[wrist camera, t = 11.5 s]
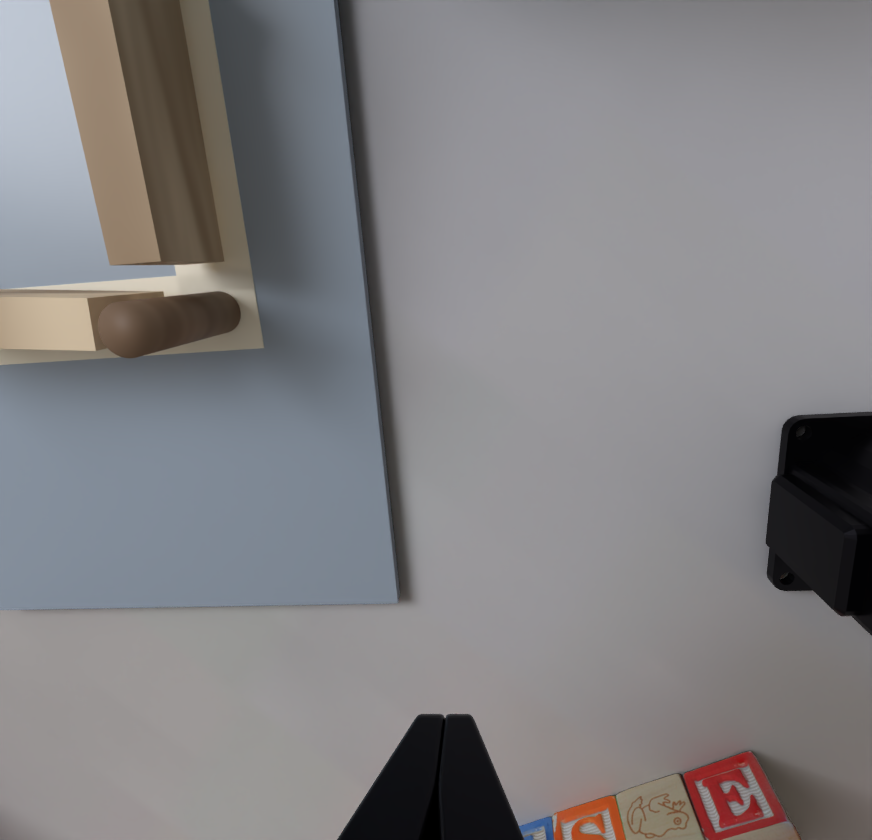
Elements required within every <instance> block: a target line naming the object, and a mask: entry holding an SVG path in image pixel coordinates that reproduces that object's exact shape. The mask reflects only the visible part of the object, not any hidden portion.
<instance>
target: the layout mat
mask: <svg viewBox="0 0 872 840" xmlns="http://www.w3.org/2000/svg"><path fill="white" fill-rule="evenodd" d="M179 1H180V7H181V13H182V19H183V24H184V30H185V36H186V42H187V48H188V53H189V59H190V65H191V71H192V76H193V82H194V88H195V94H196V100H197V105H198V111H199V117H200V123H201V128H202V134H203V140H204V146H205V152H206V157H207V163H208V169H209V175H210V181H211V186H212V192H213V198H214V204H215V209H216V215H217V221H218V227H219V233H220V238H221V244H222V250H223V256H224V261H225V262H214V263H202V264H189V265H110V264H109V260H108V255H107V251H106V247H105V242H104V238H103V234H102V229H101V225H100V221H99V216H98V212H97V207H96V203H95V199H94V194H93V190H92V186H91V181H90V177H89V172H88V168H87V164H86V159H85V155H84V151H83V146H82V142H81V138H80V133H79V129H78V124H77V120H76V116H75V111H74V107H73V103H72V98H71V94H70V89H69V85H68V81H67V76H66V72H65V68H64V63H63V59H62V54H61V50H60V46H59V41H58V37H57V33H56V28H55V24H54V20H53V15H52V11H51V6H50V2H49V0H0V289H32V290H104V291H163V292H164V297H167V296H176V295H186V294H195V293H205V292H214V291H222V292H225V293H228V294H229V295H231V296H232V297H233V298H234V299H235V300H236V301H237V303H238V305H239V307H240V312H241V318H240V322H239V324H238V326H237V327H236V328H235V329H234V330H232V331H230V332H228V333H224V334H220V335H217V336H213V337H209V338H206V339H202V340H199V341H195V342H191V343H188V344H184V345H180V346H177V347H173V348H169V349H166V350H162V351H158V352H155V353H151V354H147V355H144V356H140V357H136V358H123V357H120V356H118V355H116V354H114V353H113V352H111V351H110V350H109V349H108V348H106V349H102V350H98V351H78V350H33V349H0V610H36V609H95V608H154V607H213V606H273V605H332V604H391V603H398V601H399V597H400V588H399V579H398V569H397V560H396V550H395V541H394V531H393V522H392V512H391V503H390V493H389V483H388V474H387V464H386V455H385V445H384V436H383V426H382V417H381V407H380V398H379V388H378V379H377V369H376V360H375V350H374V341H373V331H372V322H371V312H370V303H369V293H368V283H367V274H366V264H365V255H364V245H363V236H362V226H361V217H360V207H359V198H358V188H357V179H356V169H355V160H354V150H353V141H352V131H351V122H350V112H349V102H348V93H347V83H346V74H345V64H344V55H343V45H342V36H341V26H340V17H339V7H338V0H179Z"/></svg>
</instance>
